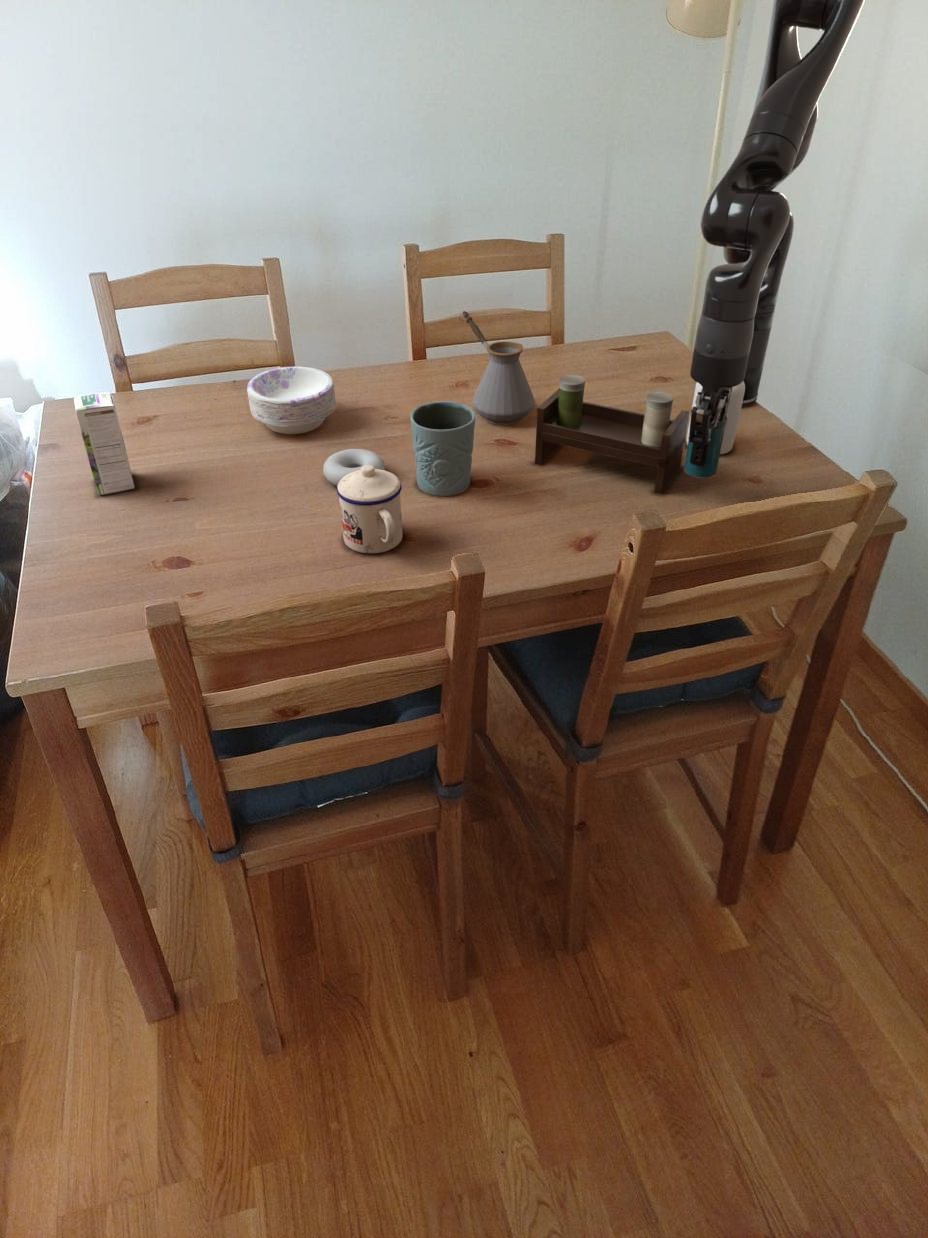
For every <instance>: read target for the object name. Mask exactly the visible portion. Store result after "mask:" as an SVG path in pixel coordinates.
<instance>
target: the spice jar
mask: <svg viewBox="0 0 928 1238" xmlns="http://www.w3.org/2000/svg"><path fill="white" fill-rule="evenodd" d="M713 420H714V419H710V422H713ZM726 423H727V415H726V414H725V413H722V412H721V414H720V418H719V422H718V425H717V427H716V428H713V431H712V435H711V441H710V442H709V447H708V453H707V458H706V463H705V464H704V466H697V465H693V464H691V463H690V457H691V451H692V445H693V443H692V442H688V445H687V449H686V454H685V461H684V465H683V471H684V472H685V473H686V474H687V475H688V476H691V477H693V478H698V479H708V478H712V477H714V476H715V475H716V474H717V471H718V465H719V460H720V455H721V454H720V450H721V445H722V440H723V435H724V430H725V425H726ZM698 434H703V433H702V432H698Z"/></svg>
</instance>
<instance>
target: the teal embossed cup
mask: <svg viewBox="0 0 928 1238" xmlns="http://www.w3.org/2000/svg"><path fill="white" fill-rule="evenodd" d="M409 415H410V417H409V420H410V427H411V436H412V447H413V452H414V462H415V463H414V464H415V472H416V484H417V486H418V488H419V490H420V491H422V492H423V493H425V494H428V495H431V496H437V497H451V496H455V495H458V494H461V493H463V492H465V491H466V490H467V489H468V488H469V486H470V482H471V472H472V464H473V463H472V461H473V452H474V440H475V439H474V438H475V425H476V412H475V410H473V409H472V408H471V407H470V406H468V405H466V404H463V403H461V402H457V401H450V400H438V401H437V400H436V401H429V402H426V403H421V404H420V405H418V406H416V407H415V408H414V409H413V410H412V411H411V413H410V414H409Z"/></svg>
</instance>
